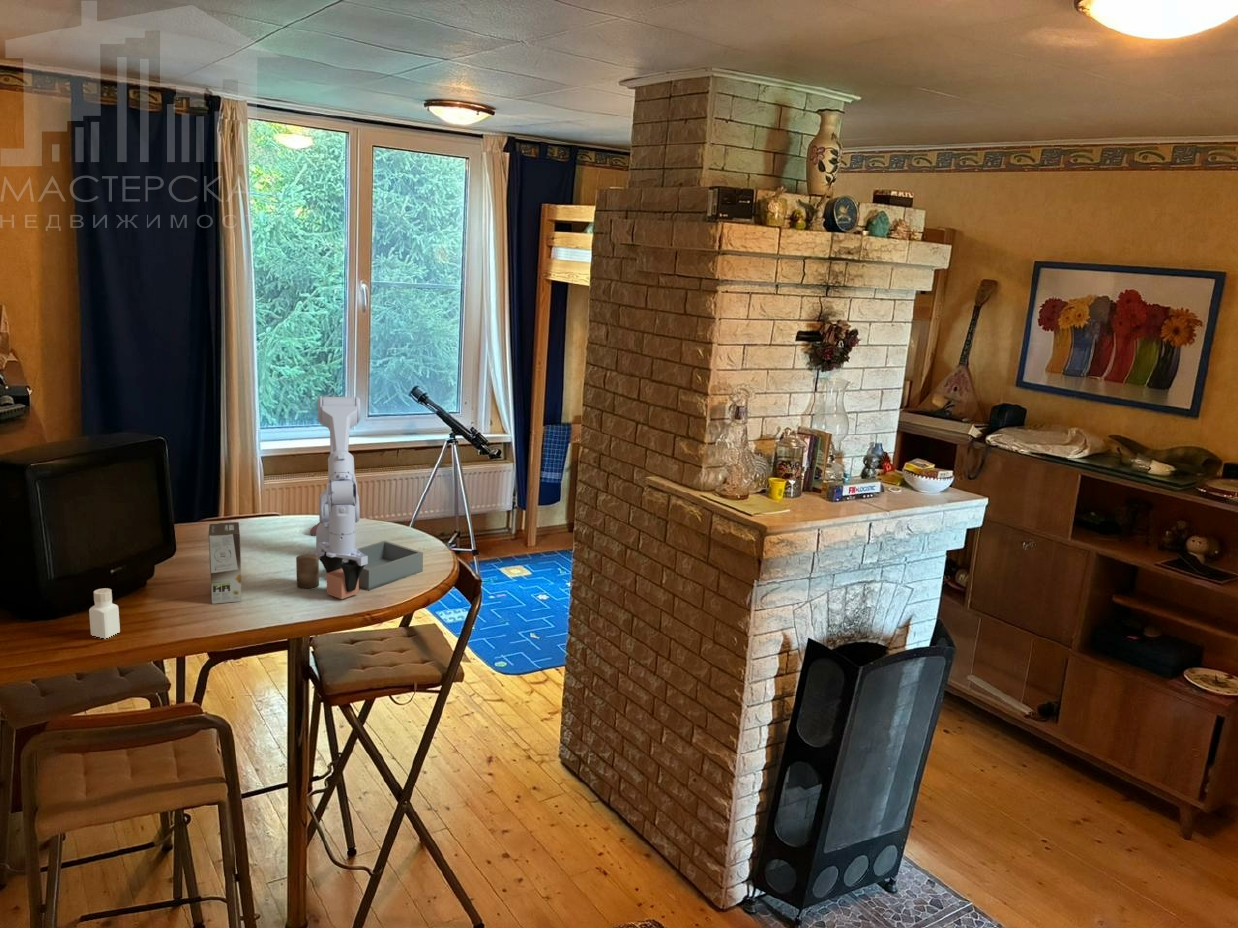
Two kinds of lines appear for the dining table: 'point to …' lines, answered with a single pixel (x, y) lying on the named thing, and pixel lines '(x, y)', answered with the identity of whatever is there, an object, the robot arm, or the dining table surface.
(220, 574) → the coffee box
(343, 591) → the cube
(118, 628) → the white pill bottle
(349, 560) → the robot arm
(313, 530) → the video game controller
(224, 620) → the dining table surface
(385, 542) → the tote
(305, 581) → the cylinder
